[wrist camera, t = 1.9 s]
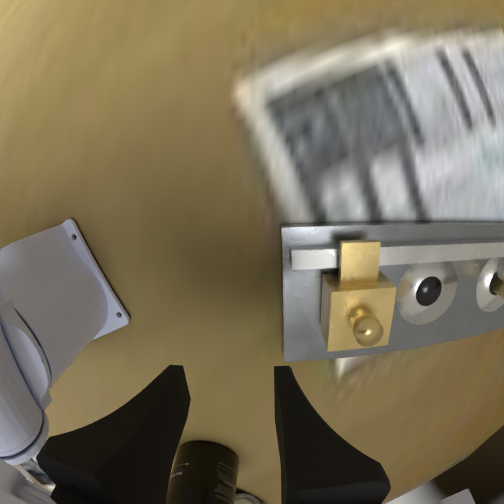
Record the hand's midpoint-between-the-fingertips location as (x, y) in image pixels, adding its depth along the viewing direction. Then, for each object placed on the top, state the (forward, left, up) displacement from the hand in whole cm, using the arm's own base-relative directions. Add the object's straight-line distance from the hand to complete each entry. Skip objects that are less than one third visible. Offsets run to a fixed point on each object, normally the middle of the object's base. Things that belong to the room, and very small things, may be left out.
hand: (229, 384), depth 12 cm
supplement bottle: (+16, -13, -10) cm, 23 cm away
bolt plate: (+6, +12, -9) cm, 17 cm away
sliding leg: (+2, +7, -8) cm, 11 cm away
